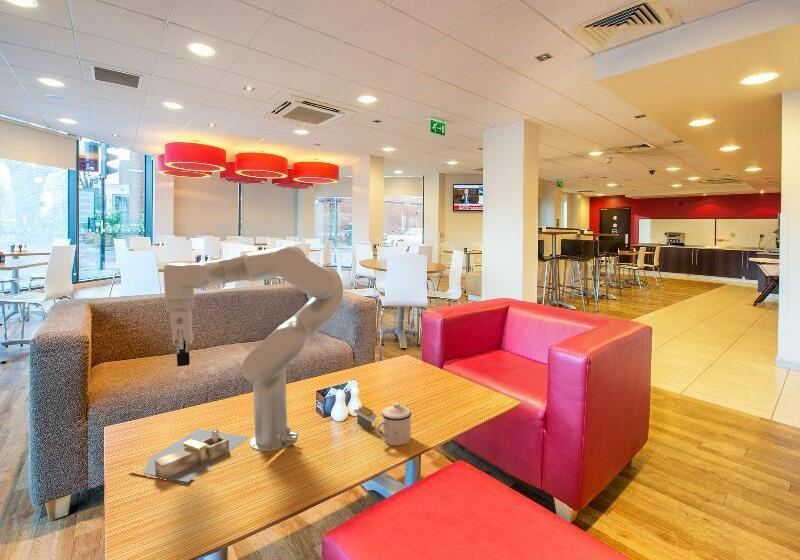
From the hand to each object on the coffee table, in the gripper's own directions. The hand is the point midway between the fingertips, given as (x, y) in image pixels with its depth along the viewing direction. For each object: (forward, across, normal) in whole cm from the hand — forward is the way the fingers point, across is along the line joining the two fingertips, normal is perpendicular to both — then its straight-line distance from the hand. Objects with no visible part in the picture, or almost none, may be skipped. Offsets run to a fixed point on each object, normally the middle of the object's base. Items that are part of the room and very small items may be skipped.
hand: (183, 364), depth 124 cm
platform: (+26, -11, -54) cm, 61 cm away
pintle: (+25, -8, -8) cm, 28 cm away
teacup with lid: (+25, -23, -58) cm, 68 cm away
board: (+25, -8, -2) cm, 26 cm away
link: (+24, -13, -2) cm, 28 cm away
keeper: (+24, -13, -3) cm, 28 cm away
